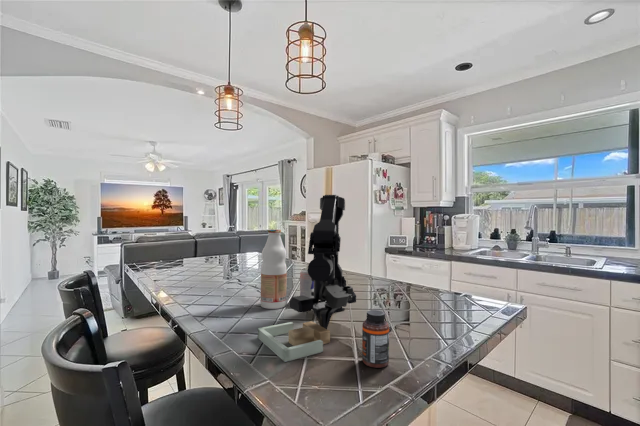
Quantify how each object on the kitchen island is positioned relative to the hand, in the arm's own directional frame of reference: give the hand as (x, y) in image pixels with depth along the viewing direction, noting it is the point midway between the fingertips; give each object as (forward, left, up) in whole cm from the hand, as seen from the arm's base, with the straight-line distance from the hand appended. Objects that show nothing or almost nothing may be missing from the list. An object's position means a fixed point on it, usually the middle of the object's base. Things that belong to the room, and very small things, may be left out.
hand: (323, 331), depth 84 cm
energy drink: (-13, -32, -2) cm, 35 cm away
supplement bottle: (-1, +19, -2) cm, 19 cm away
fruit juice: (0, -34, -2) cm, 34 cm away
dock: (+11, 0, -1) cm, 11 cm away
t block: (+6, 0, -1) cm, 6 cm away
